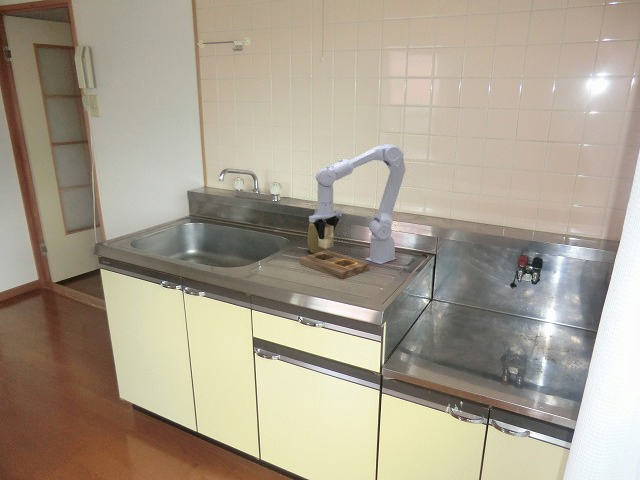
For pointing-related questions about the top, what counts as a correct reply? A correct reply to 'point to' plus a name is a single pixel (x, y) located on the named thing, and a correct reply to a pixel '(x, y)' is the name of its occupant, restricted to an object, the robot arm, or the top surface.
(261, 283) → the top surface
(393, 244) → the robot arm
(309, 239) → the squeeze bottle
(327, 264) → the wooden peg tray
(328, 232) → the peg
